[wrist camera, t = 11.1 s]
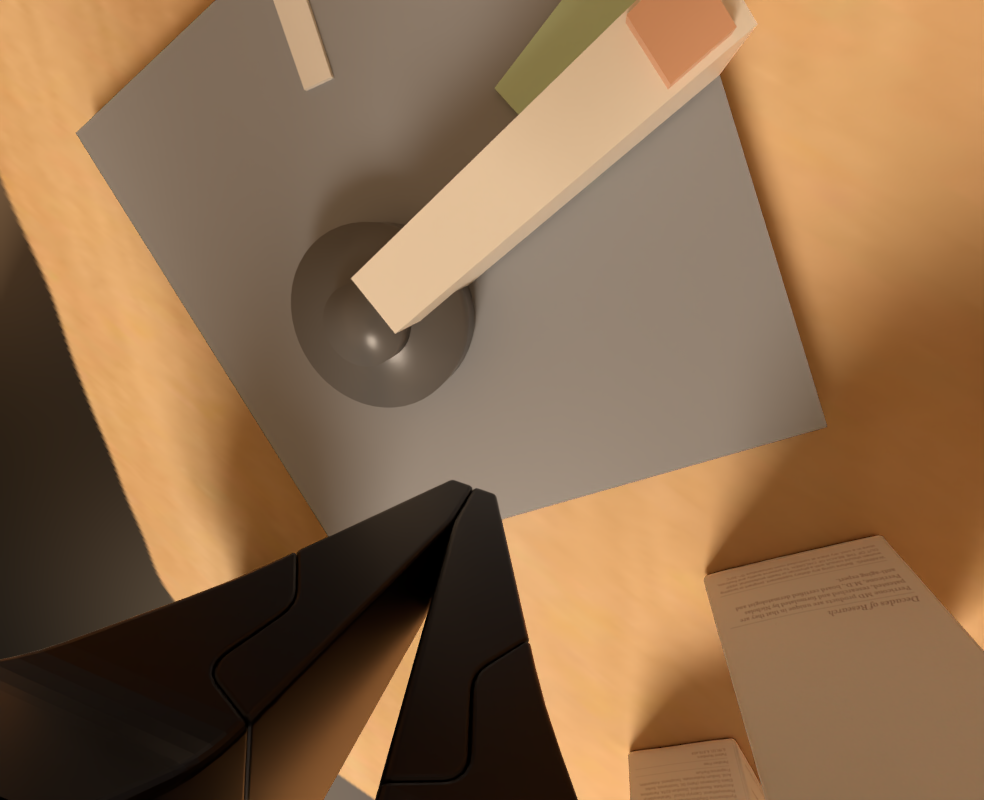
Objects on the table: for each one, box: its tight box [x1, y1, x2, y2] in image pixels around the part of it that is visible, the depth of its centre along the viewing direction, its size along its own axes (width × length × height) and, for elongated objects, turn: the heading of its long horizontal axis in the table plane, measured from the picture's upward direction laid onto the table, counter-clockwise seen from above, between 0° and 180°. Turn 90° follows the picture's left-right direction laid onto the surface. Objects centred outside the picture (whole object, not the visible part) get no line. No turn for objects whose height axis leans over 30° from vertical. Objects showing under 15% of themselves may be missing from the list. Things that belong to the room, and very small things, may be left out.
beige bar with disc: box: [291, 0, 757, 408], centre depth 15 cm, size 17×7×4 cm, turn 130°
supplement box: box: [704, 535, 984, 800], centre depth 15 cm, size 7×7×13 cm
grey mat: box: [76, 0, 827, 537], centre depth 19 cm, size 23×23×1 cm
